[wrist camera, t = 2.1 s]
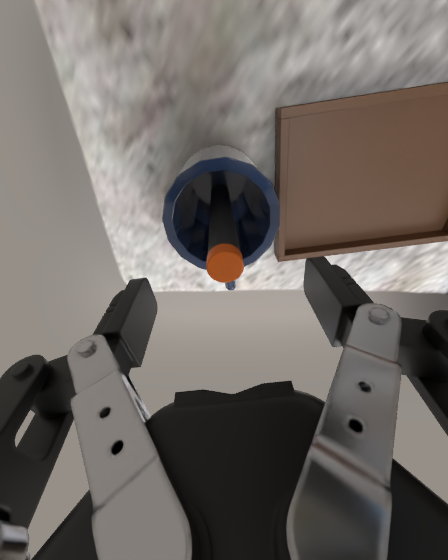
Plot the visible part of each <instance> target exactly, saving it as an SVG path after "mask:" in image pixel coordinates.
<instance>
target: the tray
mask: <svg viewBox="0 0 448 560" xmlns="http://www.w3.org/2000/svg"><path fill="white" fill-rule="evenodd" d="M275 193H276V195H277V198H278V200H279V202H280V226H279V229H278V231H277V233H276V236H275V256H276V258H277V260H278V262H281V261H289V260H297V259H305V258H311V257H319V256H330V255H338V254H346V253H354V252H362V251H370V250H378V249H386V248H394V247H402V246H410V245H418V244H427V243H435V242H443V241H448V82H446V83H439V84H433V85H426V86H420V87H413V88H406V89H400V90H393V91H387V92H380V93H374V94H367V95H361V96H354V97H348V98H341V99H335V100H328V101H322V102H315V103H309V104H302V105H296V106H289V107H283V108H277V109H276V172H275Z"/></svg>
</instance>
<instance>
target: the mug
mask: <svg viewBox="0 0 448 560" xmlns="http://www.w3.org/2000/svg"><path fill="white" fill-rule="evenodd" d="M216 185H223V186H225V187H226V188H227V189H228V191H229V196H230V201H231V206H232V211H233V216H234V222H235V227H236V232H237V237H238V242H239V247H240V252H241V254H242V258H243V263H244V266H247V265H249V264H251V263H253V262H255V261H256V260H257V259H258V258H259V257H260V256H261V255H262V254H263V253H264V252H265V251H266V250H267V249H268V248H269V247H270V246H271V245H272V242H273V240H274V238H275V236H276V233H277V231H278V229H279V226H280V202H279V200H278V198H277V195H276V193H275V190H274V188H273V186H272V183H271V182H270V180H269V179H268V178H267V177H266V176H265V175H264V173H263V172H262V171H261V170H260V169H259V168H258V167H257V166H256V164H255V163H254V162H253V161H252V160H251V159H249V158H248V157H247V156H246V155H245V154H244V153H243V152H242V151H240V150H238V149H235V148H233V147H229V146H225V145H214V146H209V147H205V148H203V149H201V150H200V151H198V152H196V153H195V154H194V155H192V156H191V157H190V158H189V159H188V160H187V162H186V163H185V165H184V166H183V168H182V169H181V171H180V173H179V174H178V176H177V177H176V179H175V181H174V182H173V184H172V186H171V187H170V189H169V191H168V192H167V194H166V196H165V201H164V209H163V217H162V219H163V220H162V221H163V224H164V227H165V231H166V234H167V238H168V240H169V242H170V243H171V245H172V246H173V247H174V248H175V250H176V251H177V252H178V253H179V255H180V256H181V257H182V258H184V259H185V260H187V261H189V262H190V263H192V264H194V265H195V266H197V267H199V268H202V269H207V268H206V265H207V255H208V242H209V220H210V199H211V190H212V189H213V187H215V186H216ZM225 285H226V288H227V289H228V290H234V289H235V287H236V281H235V280H234V281H231V282H226V283H225Z"/></svg>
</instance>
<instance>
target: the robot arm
mask: <svg viewBox="0 0 448 560" xmlns="http://www.w3.org/2000/svg"><path fill="white" fill-rule="evenodd" d="M304 292H305V295H306V297H307V299H308V301H309V303H310V305H311V307H312V308H313V310H314V312H315V314H316V316H317V318H318V320H319V322H320V324H321V326H322V328H323V330H324V332H325V334H326V335H327V337H328V339H329V341H330V343H331V345H332V346H333V347H338V346H343V348H344V349H343V352H342V355H341V358H340V361H339V364H338V367H337V370H336V373H335V376H334V379H333V381H332V385H331V388H330V390H329V393H328V397H327V400H326V402H324V401H322V400H321V399H318V398H317V397H315V396H312V395H310V394H308V393H305V392H301V391H297V390H294V388H293V385H292V382H291V381H283V382H274V383H264V384H260V385H257V386H255V387H252V388H249V389H247V390H244V391H241V392H239V393H236V394H227V393H221V392H215V391H209V390H195V391H185V392H176V393H175V400H174V402H173V403H171V404H169V405H167V406H165V407H163V408H162V409H160V410H158V411H157V412H156V413H155V414H153V415H152V416H151V415H150V414H149V412H148V410H147V408H146V406H145V405H144V403H143V401H142V399H141V397H140V395H139V393H138V391H137V389H136V387H135V385H134V383H133V381H132V379H131V377H130V376H129V372H130V369H131V368H134V367H141V364H142V361H143V358H144V354H145V351H146V347H147V344H148V341H149V338H150V334H151V331H152V328H153V324H154V321H155V317H156V314H157V302H156V299H155V296H154V294H153V291H152V289H151V286H150V284H149V281H148V279H147V278H140V279H132V280H130V281H129V283H128V285H127V286H126V289H125V290H122V291H120V292H119V293H118V294H117V295H116V296H115V297H114V298H113V300H112V301H111V303H110V305H109V306H110V307H108V309H107V310H106V313H105V314H104V316H103V317H102V319H101V321H100V323H99V324H98V326H97V328H96V330H95V331H94V333H93V335H91V336H88V337H85V338H84V339H82V340H80V341H79V342H77V343H76V344H75V345H74V346H73V347H72V348H71V349H70V351H69V353H68V355H66V356H63V357H60V358H57V359H54V360H52V361H49V362H48V361H47V360H46V359H45V358H44V357H43V356H41V355H32V356H29V357H26V358H24V359H22V360H20V361H18V362H17V363H15V364H14V365H12V366H11V367H10V368H9V369H8V370H7V371H6V372H5V373H4V374H3V375H2V377H1V379H0V560H30V554H29V552H28V545H29V534H28V531H27V530H28V527H29V524H30V522H31V520H32V518H33V515H34V513H35V510H36V508H37V506H38V503H39V501H40V498H41V496H42V494H43V491H44V489H45V486H46V484H47V482H48V479H49V477H50V474H51V472H52V470H53V467H54V465H55V463H56V460H57V458H58V455H59V453H60V451H61V448H62V446H63V444H64V441H65V439H66V437H67V434H68V431H69V429H70V427H71V425H72V422H73V420H74V421H75V425H76V429H77V434H78V439H79V443H80V447H81V452H82V457H83V461H84V465H85V470H86V474H87V479H88V483H89V488H90V489H89V491H88V492H87V493H86V494H85V495H84V497H83V498H82V499H81V500H80V502H79V503H78V504H77V505H76V506H75V508H74V509H73V510H72V511H71V512H70V513H69V515H68V516H67V517H66V518H65V519H64V521H63V522H62V523H61V524H60V526H59V527H58V528H57V529H56V530H55V532H54V533H53V534H52V535H51V536H50V538H49V539H48V540H47V541H46V543H45V544H44V545H43V546H42V547H41V548H40V550H39V551H38V552H37V554H36V555H35V556H34V557H33V558H32V559H31V560H448V504H447V503H446V502H445V501H443V500H442V499H441V498H440V497H439V496H437V495H436V494H435V493H434V492H433V491H431V490H430V489H429V488H428V487H426V486H425V485H424V484H423V483H422V482H421V481H420V480H418V479H417V478H416V477H415V476H413V475H412V474H411V473H410V472H409V471H407V470H406V469H405V468H404V467H403V466H401V465H400V464H399V463H398V462H397V461H396V460H394V459H393V458H392V457H393V447H394V438H395V428H396V419H397V409H398V399H399V390H400V380H401V374H402V375H407V377H408V378H409V380H410V381H411V383H412V384H413V386H414V387H415V389H416V390H417V391H418V393H419V394H420V396H421V397H422V399H423V400H424V402H425V403H426V405H427V406H428V407H429V409H430V411H431V412H432V413H433V415H434V416H435V418H436V419H437V421H438V422H439V424H440V425H441V427H442V428H443V430H444V431H445V433H446V434H447V435H448V311H446V310H439V311H435V312H433V313H431V314H430V316H429V317H428V319H427V320H418V319H409V318H402V317H400V315H399V314H398V313H397V312H396V311H394V310H393V309H391V308H389V307H387V306H385V305H381V304H376V303H373V301H372V300H371V299H370V298H369V296H368V295H367V294H366V293H365V292H364V291H363V290H362V289H361V287H360V286H359V285H358V284H356V282H355V281H354V279H353V278H351V276H350V275H349V274H348V273H347V271H346V270H344V269H343V268H341V267H339V266H337V265H331V264H330V263H329V262H328V260H327V259H326V258H325V257H324V256H319V257H311V258H307V259H306V264H305V274H304ZM30 410H32V411H33V412H34V413H35V416H34V417H33V419H32V421H31V423H30V425H29V426H28V428H27V430H26V432H25V434H24V435H23V437H22V439H21V441H20V442H19V444H18V446H17V448H16V446H15V436H16V433H17V432H18V430H19V428H20V426H21V425H22V423H23V421H24V419H25V417H26V416H27V414H28V412H29V411H30Z"/></svg>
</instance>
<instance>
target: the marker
mask: <svg viewBox="0 0 448 560" xmlns="http://www.w3.org/2000/svg"><path fill="white" fill-rule="evenodd" d="M206 268H207V272H208V274H209V275H210V277H211V278H212V279H214V280H216V281H218V282H223V283H226V282H231V281H234V280H236V279H237V278H238V277H239V276H240V275H241V274H242V272H243V269H244V263H243V258H242V254H241V252H240V247H239V242H238V237H237V232H236V227H235V222H234V216H233V211H232V206H231V201H230V196H229V191H228V189H227V188H226V187H225V186H223V185H216V186H215V187H213V189H212V190H211V199H210V220H209V242H208V255H207V265H206Z"/></svg>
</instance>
